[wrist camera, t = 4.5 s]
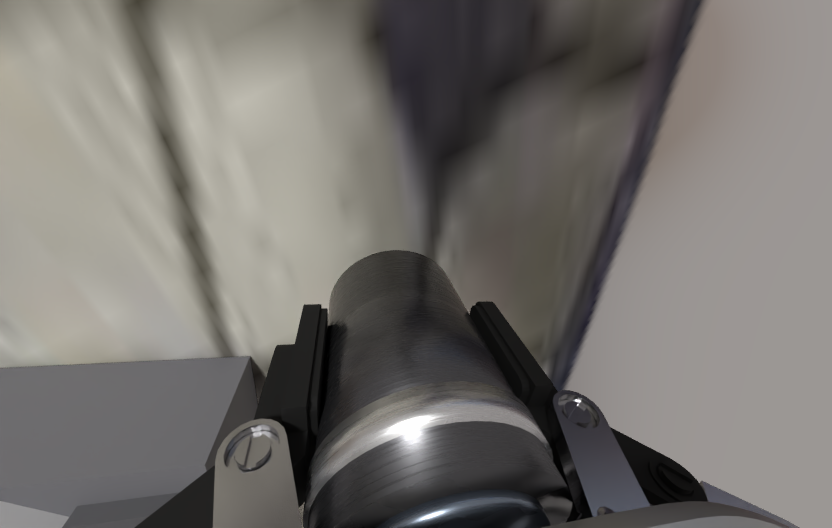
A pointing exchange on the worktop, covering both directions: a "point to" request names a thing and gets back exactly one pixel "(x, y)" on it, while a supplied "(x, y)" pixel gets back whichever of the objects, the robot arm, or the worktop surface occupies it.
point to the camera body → (113, 437)
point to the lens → (421, 414)
